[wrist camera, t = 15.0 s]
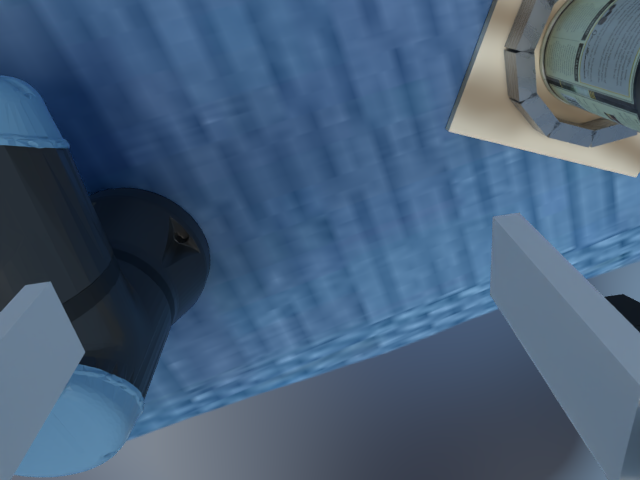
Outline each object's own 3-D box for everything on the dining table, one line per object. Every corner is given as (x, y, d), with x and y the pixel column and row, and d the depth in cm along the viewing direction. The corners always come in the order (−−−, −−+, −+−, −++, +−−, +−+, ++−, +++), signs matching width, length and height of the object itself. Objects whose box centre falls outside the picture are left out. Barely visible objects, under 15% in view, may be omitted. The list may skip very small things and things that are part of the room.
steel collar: (629, 153, 45) (646, 162, 43) (476, 115, 43) (486, 122, 41) (734, -33, 38) (761, -34, 36) (558, -91, 36) (575, -96, 34)
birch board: (629, 173, 47) (636, 177, 47) (445, 128, 44) (448, 131, 44) (760, -53, 39) (771, -53, 38) (540, -128, 36) (546, -131, 35)
